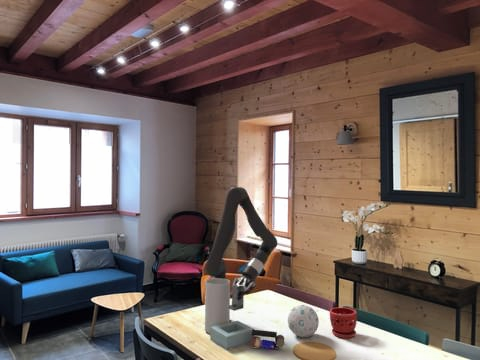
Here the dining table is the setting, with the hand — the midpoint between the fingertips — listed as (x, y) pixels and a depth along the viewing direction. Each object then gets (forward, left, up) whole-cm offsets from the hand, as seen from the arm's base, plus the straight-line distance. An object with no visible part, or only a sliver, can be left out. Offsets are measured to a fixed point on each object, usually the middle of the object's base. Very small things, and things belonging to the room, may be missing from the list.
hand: (234, 298), depth 181 cm
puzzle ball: (+15, +31, -20) cm, 40 cm away
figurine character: (+16, +7, -20) cm, 27 cm away
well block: (0, -1, -20) cm, 20 cm away
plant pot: (+25, +49, -20) cm, 58 cm away
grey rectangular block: (0, +2, -5) cm, 5 cm away
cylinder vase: (-15, 0, -20) cm, 25 cm away
